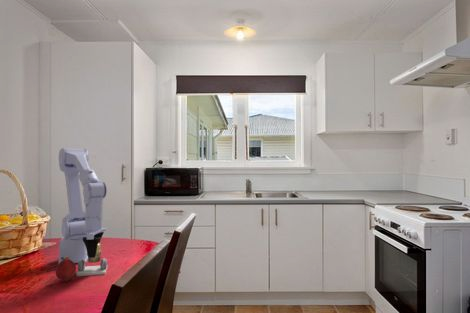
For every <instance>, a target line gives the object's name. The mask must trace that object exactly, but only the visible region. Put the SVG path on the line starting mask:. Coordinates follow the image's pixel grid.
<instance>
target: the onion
mask: <svg viewBox="0 0 470 313" xmlns="http://www.w3.org/2000/svg"><path fill="white" fill-rule="evenodd" d="M58 263H59V262H58ZM58 263H57V265H56V267H55V276H56V277H57V279H59V280H60V281H63V282H68V281H69V280H70V279H71V278H72V277H73V276H74V275H75V273H77V265H76V263H74V262H73V261H71V260H69V257H68V256H67V257H65V258H64V259H63V260H62V261H61V262H60V263H59V264H58Z"/></svg>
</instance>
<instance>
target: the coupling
mask: <svg viewBox="0 0 470 313" xmlns="http://www.w3.org/2000/svg"><path fill="white" fill-rule="evenodd" d="M101 246H102V243H101V242H100V243H98V246H97V251H96V256H95V258H88V259H87V262H88V263H90V264H91V263H93V264H94V263H100V262H101V255H102V247H101ZM87 256H88V254H87Z"/></svg>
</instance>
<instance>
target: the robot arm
mask: <svg viewBox="0 0 470 313" xmlns="http://www.w3.org/2000/svg"><path fill="white" fill-rule="evenodd" d="M89 158H90V154H89V151H88V149H86V148H65V147H62V148H61V149H60V150H59V153H58V164H59V165H58V166H59V170H60V171H61V172H63V173H64V178H65V183H66V184H65V185H66V186H65V187H66V196H67V205H68V206H67V207H68V213H67V214H66V215H65V216H64V217H63V218H62V221H61V234H62V237H61V239H60V240H59V247H58V263H57V265H58V264H59V263H60V262H61V261H62V260H63V259H64V258H65V257H67V256H68V257H69V260H71V261H73V262H74V264H78V262H79V261H81V259H83V260H85V263H87V262H88V258H95V256H96V251H97V246H98V243H101V241H102V238H103V234H104V232H106V231H107V228H106V227H104V224H103V223H104V221H103V220H104V199H105V198H106V195H107V192H108V191H107V186H106V182H104V181H102V180H99V178H98V176H97V174H96V172H95V170H94V169H92V168H90V165H89V163H88V162H89ZM80 183H81V184H80ZM81 185H82V192H81ZM82 195H83V199H82ZM82 200H83V201H82ZM83 203H84V204H85V208H84V209H83ZM84 210H85V211H84ZM87 254H88V256H87Z"/></svg>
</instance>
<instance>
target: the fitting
mask: <svg viewBox="0 0 470 313" xmlns="http://www.w3.org/2000/svg"><path fill="white" fill-rule="evenodd" d="M107 270H108V259H107V258H105V257H103V258H102V259H101V258H100V264H99V265H87V266H86V262H85V260H83V259H81V261H79V262H78V263H77V271H76V277H83V276H84V277H85V276H95V275H96V276H98V275H106V272H107Z"/></svg>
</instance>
